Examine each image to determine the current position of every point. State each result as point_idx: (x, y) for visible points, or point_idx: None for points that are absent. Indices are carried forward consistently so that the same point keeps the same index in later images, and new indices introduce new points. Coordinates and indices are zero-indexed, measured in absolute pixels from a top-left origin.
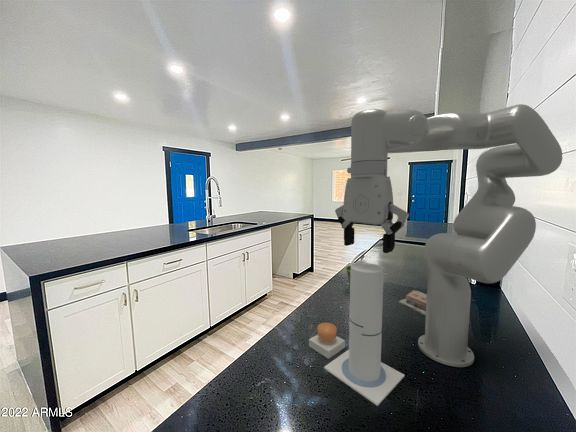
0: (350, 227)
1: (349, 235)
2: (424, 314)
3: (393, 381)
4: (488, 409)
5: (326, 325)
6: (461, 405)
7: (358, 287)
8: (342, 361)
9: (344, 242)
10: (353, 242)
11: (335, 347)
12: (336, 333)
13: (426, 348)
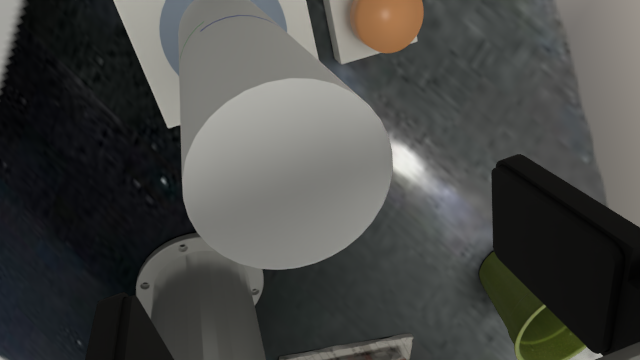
0: (630, 324)
1: (554, 246)
2: (334, 347)
3: (159, 83)
4: (16, 215)
5: (402, 24)
6: (43, 174)
7: (241, 57)
8: (284, 4)
9: (532, 164)
10: (500, 252)
11: (331, 13)
12: (360, 39)
13: None
